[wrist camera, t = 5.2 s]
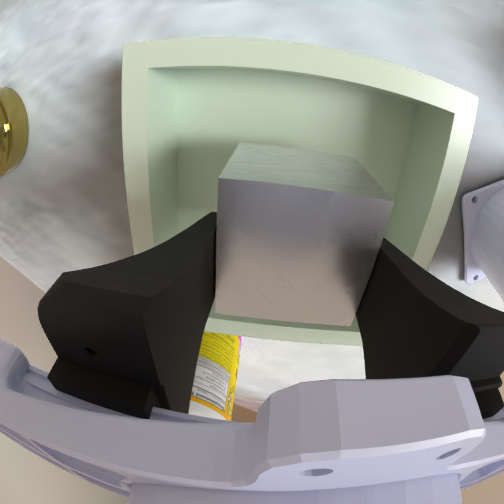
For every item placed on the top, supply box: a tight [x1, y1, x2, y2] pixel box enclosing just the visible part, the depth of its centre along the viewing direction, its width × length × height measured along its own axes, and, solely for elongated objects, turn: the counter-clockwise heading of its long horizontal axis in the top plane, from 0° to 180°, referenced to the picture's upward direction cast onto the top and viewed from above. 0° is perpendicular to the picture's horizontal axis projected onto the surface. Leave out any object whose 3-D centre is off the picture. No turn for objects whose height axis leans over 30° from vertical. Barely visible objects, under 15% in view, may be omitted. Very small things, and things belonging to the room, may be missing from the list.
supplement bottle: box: [188, 331, 242, 421], centre depth 19 cm, size 7×7×13 cm
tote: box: [122, 37, 479, 346], centre depth 15 cm, size 15×15×5 cm
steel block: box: [215, 142, 394, 326], centre depth 11 cm, size 5×5×5 cm
